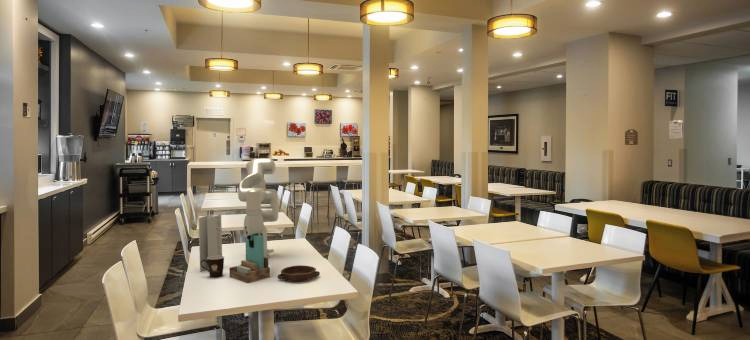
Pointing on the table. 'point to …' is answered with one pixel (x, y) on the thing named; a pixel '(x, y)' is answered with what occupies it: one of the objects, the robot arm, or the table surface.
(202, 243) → the tall grey panel
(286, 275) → the dish
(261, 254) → the tall sheet
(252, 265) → the offcut oak
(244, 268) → the offcut grey
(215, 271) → the coffee mug
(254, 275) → the rack
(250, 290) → the table surface
